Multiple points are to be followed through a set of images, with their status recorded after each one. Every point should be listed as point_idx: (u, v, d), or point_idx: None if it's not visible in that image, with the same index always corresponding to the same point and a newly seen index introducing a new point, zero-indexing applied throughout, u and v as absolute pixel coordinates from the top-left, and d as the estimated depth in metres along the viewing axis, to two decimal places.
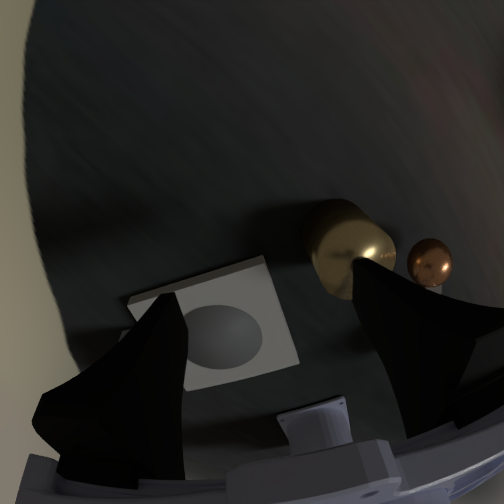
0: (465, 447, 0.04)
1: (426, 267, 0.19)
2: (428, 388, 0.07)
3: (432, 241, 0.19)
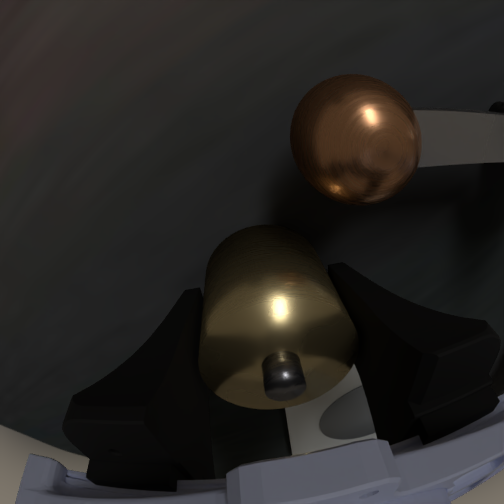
0: (465, 447, 0.04)
1: (348, 192, 0.07)
2: (394, 400, 0.07)
3: (291, 137, 0.08)
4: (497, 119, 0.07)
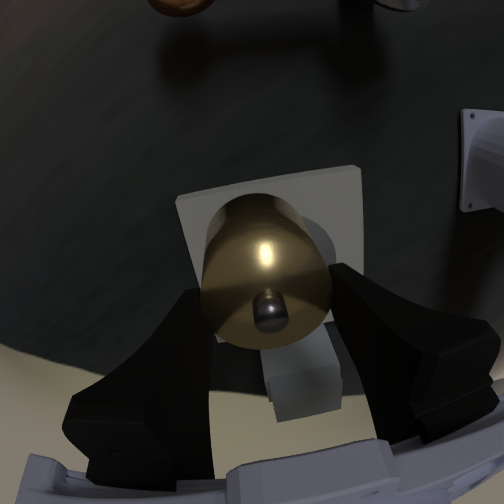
0: (465, 447, 0.04)
1: None
2: (395, 400, 0.07)
3: None
4: None
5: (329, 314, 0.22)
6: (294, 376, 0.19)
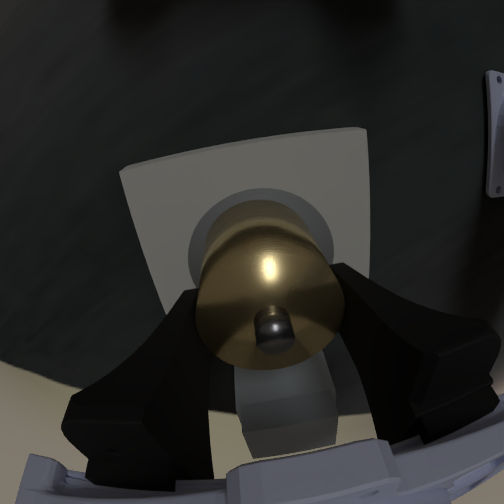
0: (465, 447, 0.04)
1: None
2: (395, 400, 0.07)
3: None
4: None
5: None
6: (274, 404, 0.14)
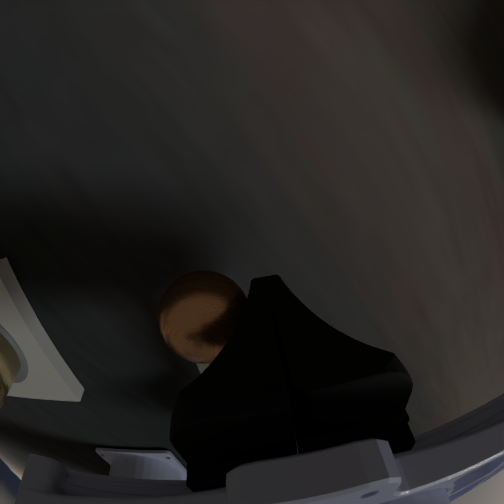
0: (465, 447, 0.04)
1: (167, 326, 0.10)
2: (296, 425, 0.07)
3: (198, 278, 0.11)
4: None
5: None
6: None
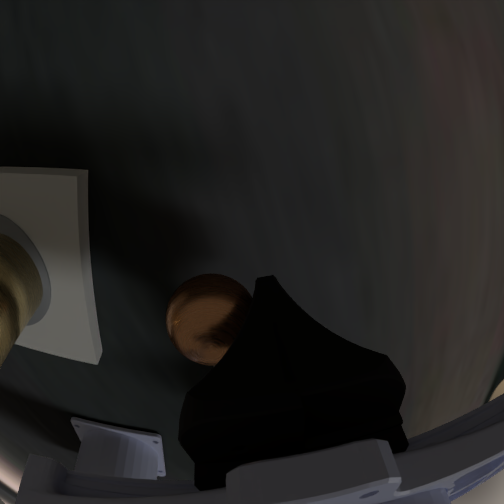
0: (465, 447, 0.04)
1: (175, 334, 0.11)
2: None
3: (196, 283, 0.11)
4: None
5: None
6: None
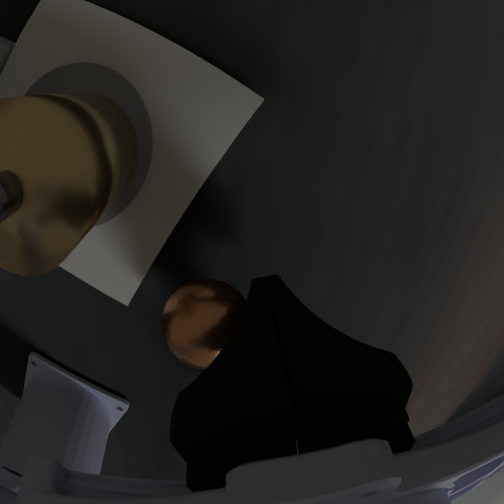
0: (465, 447, 0.04)
1: (170, 340, 0.11)
2: (295, 425, 0.07)
3: (189, 288, 0.11)
4: None
5: None
6: None
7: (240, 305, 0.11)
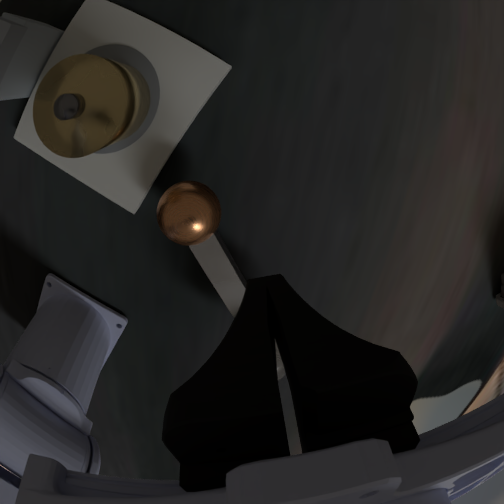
0: (465, 447, 0.04)
1: (161, 217, 0.16)
2: (301, 424, 0.07)
3: (176, 184, 0.16)
4: (239, 283, 0.19)
5: (32, 108, 0.15)
6: (11, 54, 0.10)
7: (210, 193, 0.16)
